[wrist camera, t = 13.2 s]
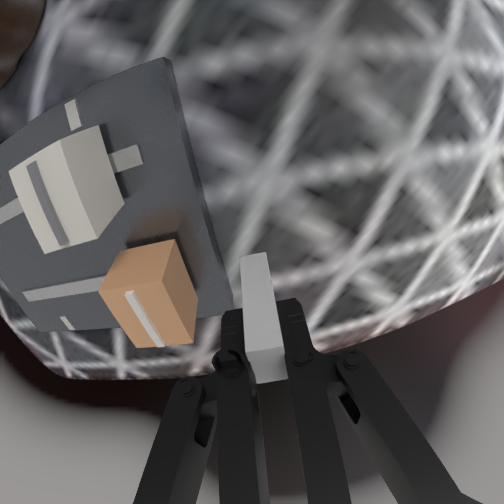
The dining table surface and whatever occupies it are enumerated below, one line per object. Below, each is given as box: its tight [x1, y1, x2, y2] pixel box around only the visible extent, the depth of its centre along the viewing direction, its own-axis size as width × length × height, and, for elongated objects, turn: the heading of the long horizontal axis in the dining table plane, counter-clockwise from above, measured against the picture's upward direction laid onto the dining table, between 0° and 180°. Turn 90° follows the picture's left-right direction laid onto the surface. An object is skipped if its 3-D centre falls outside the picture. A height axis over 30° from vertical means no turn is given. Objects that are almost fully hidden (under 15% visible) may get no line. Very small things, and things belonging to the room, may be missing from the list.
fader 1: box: [8, 125, 124, 254], centre depth 11 cm, size 5×4×4 cm
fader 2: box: [98, 239, 198, 348], centre depth 16 cm, size 5×4×4 cm
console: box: [0, 57, 233, 332], centre depth 17 cm, size 18×22×2 cm
